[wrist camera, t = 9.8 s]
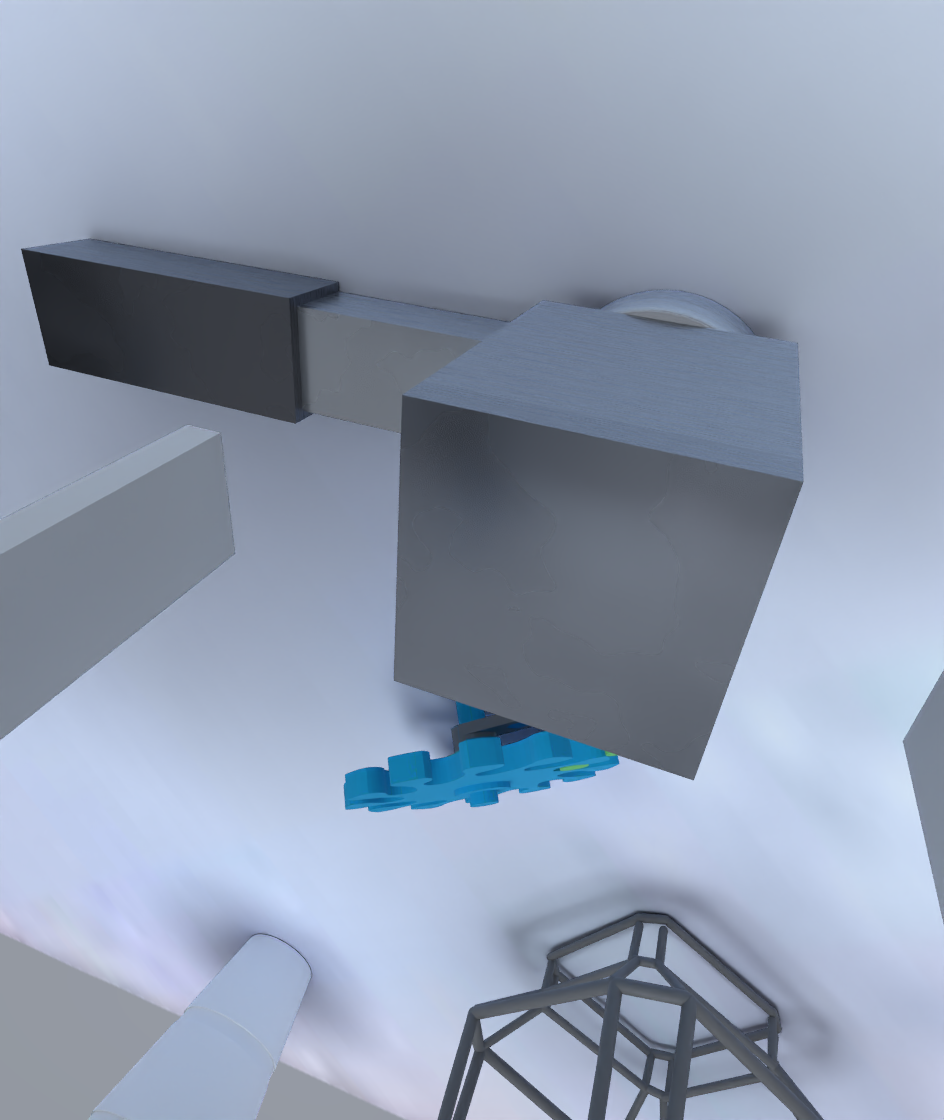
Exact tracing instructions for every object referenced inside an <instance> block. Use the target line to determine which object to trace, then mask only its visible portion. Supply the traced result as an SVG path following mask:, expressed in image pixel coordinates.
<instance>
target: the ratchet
mask: <svg viewBox="0 0 944 1120" xmlns="http://www.w3.org/2000/svg"><path fill="white" fill-rule="evenodd" d="M21 250H22V254H23V259H24V263H25V267H26V271H27V275H28V279H29V283H30V287H31V292H32V296H33V300H34V304H35V308H36V312H37V316H38V320H39V325H40V329H41V333H42V337H43V341H44V345H45V349H46V353H47V358H48V362H49V365H51V366H55V367H59V368H63V369H68V370H72V371H76V372H80V373H84V374H89V375H93V376H97V377H101V378H106V379H110V380H114V381H118V382H122V383H127V384H131V385H135V386H139V387H144V388H148V389H152V390H156V391H160V392H165V393H169V394H173V395H177V396H182V397H186V398H190V399H194V400H199V401H203V402H207V403H211V404H215V405H220V406H224V407H228V408H232V409H237V410H241V411H245V412H249V413H253V414H258V415H262V416H266V417H270V418H275V419H279V420H283V421H287V422H291V423H298V422H300V421H301V420H303V419H305V418H306V417H308V416H310V415H312V414H313V413H315V414H320V415H324V416H328V417H333V418H337V419H341V420H346V421H350V422H354V423H359V424H363V425H367V426H372V427H376V428H380V429H385V430H389V431H393V432H398V433H401V415H402V395H403V394H404V393H406V392H407V391H409V390H410V389H412V388H413V387H415V386H416V385H418V384H419V383H421V382H422V381H423V380H425V379H426V378H428V377H429V376H431V375H432V374H434V373H435V372H437V371H438V370H440V369H441V368H443V367H444V366H446V365H447V364H449V363H450V362H452V361H453V360H455V359H456V358H458V357H459V356H461V355H462V354H464V353H465V352H467V351H468V350H470V349H471V348H473V347H474V346H476V345H477V344H478V343H480V342H481V341H483V340H484V339H486V338H487V337H489V336H490V335H492V334H493V333H495V332H496V331H498V330H499V329H501V328H502V327H504V326H505V325H507V324H508V323H510V322H506V321H500V320H495V319H489V318H484V317H478V316H472V315H467V314H461V313H455V312H450V311H444V310H438V309H433V308H427V307H422V306H416V305H410V304H405V303H399V302H393V301H388V300H382V299H377V298H371V297H365V296H360V295H354V294H348V293H343V292H339V282H336V281H330V280H325V279H319V278H313V277H307V276H301V275H296V274H290V273H284V272H278V271H273V270H267V269H261V268H255V267H250V266H244V265H238V264H232V263H227V262H221V261H215V260H209V259H204V258H198V257H192V256H186V255H180V254H175V253H169V252H163V251H157V250H152V249H146V248H140V247H134V246H129V245H123V244H117V243H111V242H106V241H100V240H94V239H84V240H78V241H71V242H64V243H57V244H51V245H44V246H37V247H31V248H24V249H21ZM599 310H605V311H611V312H617V313H623V314H629V315H634V316H640V317H646V318H652V319H658V320H664V321H670V322H676V323H682V324H688V325H694V326H700V327H706V328H712V329H718V330H724V331H730V332H736V333H741V334H747V335H753V336H755V335H754V333H753V332H752V331H751V329H750V328H749V327H748V326H747V325H746V324H745V323H744V322H743V321H742V320H741V319H740V318H739V317H738V316H737V315H735V314H734V313H733V312H731V311H730V310H729V309H727V308H726V307H724V306H722V305H720V304H719V303H717V302H715V301H713V300H711V299H708V298H706V297H703V296H700V295H698V294H693V293H689V292H684V291H677V290H650V291H644V292H639V293H634V294H631V295H628V296H625V297H622V298H619V299H617V300H615V301H613V302H611V303H609V304H607V305H605V306H604V307H602V308H601V309H599Z"/></svg>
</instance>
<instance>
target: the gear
mask: <svg viewBox="0 0 944 1120" xmlns="http://www.w3.org/2000/svg"><path fill="white" fill-rule="evenodd" d="M456 707H457V714H458V721H459V725H457V726H454V727H453V728H452V729H451V730H452V738H453V745H454V752H455V753H454V754H452V755H450V756H447V757H444V758H439V759H431V760H430V755H429V752H428V751H418V752H412V753H406V754H401V755H397V756H392V757H388V765H389V771H386V770H384V768H381V767H368V768H363V769H359V770H356V771H353V772H350V773H348V774H345V780H346V783H345V784H344V796H345V809H346V810H348V809H358V808H364V807H368V810H369V811H371V812H382V811H388V810H393V809H397V808H401V807H405V806H410V805H411V809H428V808H435V807H439V806H442V805H444V804H446V803H449V802H453V801H457V800H461V799H465V801H466V803H470V806H471V807H480V806H486V805H492V804H496V803H498V802H499V800H498V794H500V793H503V792H506V791H509V790H514V789H519V793H528V792H533V791H539V790H544V789H549V788H550V782H549V781H550V780H557V779H563V782H571V781H577V780H581V779H585V778H589V777H593V776H596V774H595V771H599V770H605V769H608V768H611V767H614V766H616V765H618V764H619V760H618V756H617V755H616V754H613V753H610V752H607V751H604V750H601V749H598V748H595V747H592V746H589V745H586V744H583V743H580V742H577V741H574V740H571V739H568V738H565V737H562V736H559V735H556V734H553V733H550V732H547V731H543V732H539V733H536V734H533V735H531V736H529V737H528V738H525V739H523V740H521V741H518V742H515V743H512V744H508V745H504V746H501V740H500V737H497V736H498V735H502V734H506V733H510V732H513V731H517V730H521V729H525V728H529V727H532V726H529V725H526V724H523V723H520V722H517V721H514V720H511V719H508V718H505V717H502V716H499V715H492V716H488V717H485V712H484V710H481V709H478V708H475V707H472V706H469V705H466V704H463V703H460V702H457V701H456Z"/></svg>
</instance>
